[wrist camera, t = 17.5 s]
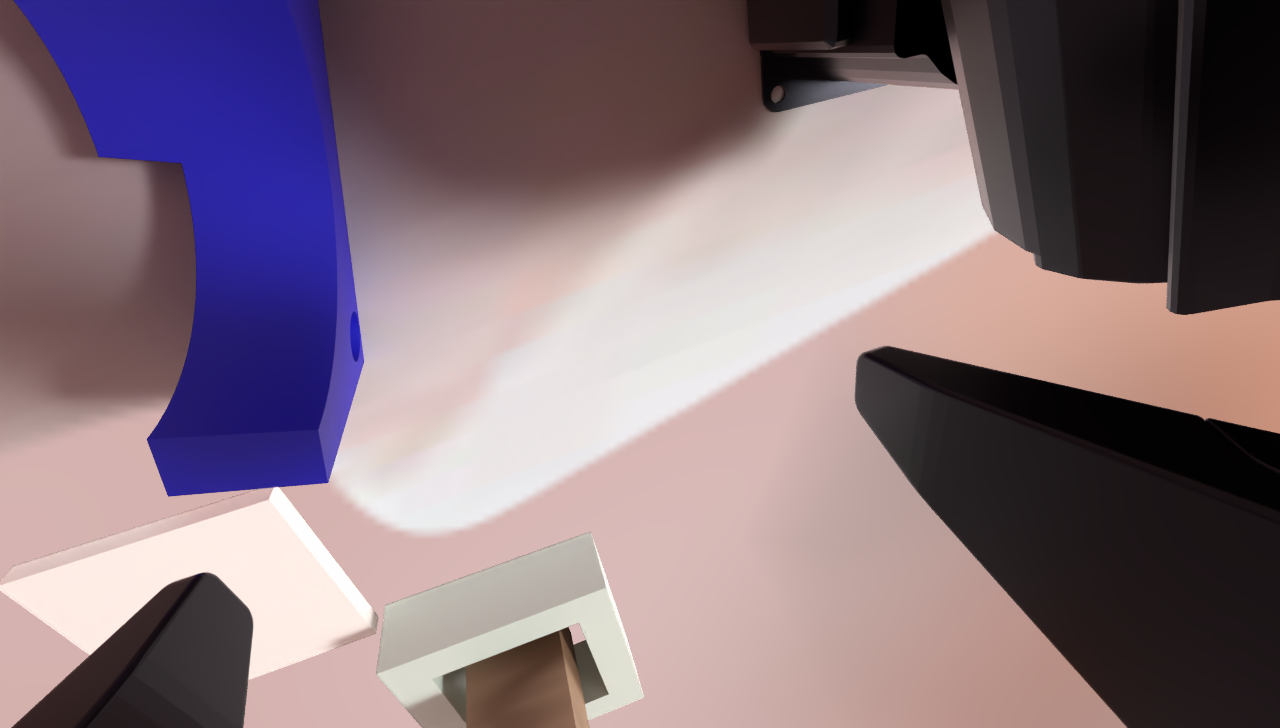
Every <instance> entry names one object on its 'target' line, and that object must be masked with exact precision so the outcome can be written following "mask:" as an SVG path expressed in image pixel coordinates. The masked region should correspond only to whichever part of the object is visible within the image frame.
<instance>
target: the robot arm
mask: <svg viewBox="0 0 1280 728" xmlns="http://www.w3.org/2000/svg"><path fill="white" fill-rule="evenodd" d="M747 6H748V25H749V41H750V44H751V45H752V46H753V47H754V48H755V49H757V50H760V57H761V80H762V99H763V104H764V106H765V107H766V108H767V109H768V110H769V111H771V112H780V111H784V110H788V109H792V108H796V107H800V106H804V105H809V104H813V103H817V102H821V101H825V100H829V99H833V98H837V97H841V96H845V95H849V94H853V93H857V92H861V91H865V90H869V89H873V88H877V87H881V86H885V85H903V86H917V87H930V88H944V89H958V90H959V93H960V98H961V103H962V108H963V113H964V118H965V123H966V128H967V133H968V138H969V143H970V147H971V152H972V157H973V162H974V167H975V172H976V177H977V182H978V187H979V192H980V197H981V202H982V206H983V208H984V210H985V212H986V214H987V216H988V218H989V220H990V222H991V224H992V226H993V228H994V230H995V231H997V232H998V233H1000V234H1001V235H1003V236H1004V237H1006V238H1008V239H1009V240H1011V241H1012V242H1013V243H1015V244H1016V245H1018V246H1020V247H1021V248H1023V249H1024V250H1026V251H1028V252H1031V253H1033V256H1034V261H1035V264H1036V265H1037V266H1038V267H1040V268H1042V269H1045V270H1049V271H1053V272H1057V273H1061V274H1065V275H1069V276H1073V277H1077V278H1083V279H1092V280H1103V281H1104V280H1105V281H1115V282H1128V283H1164V282H1165V283H1166V282H1167V309H1168V310H1169V311H1170V312H1173V313H1175V314H1181V315H1188V314H1195V313H1201V312H1207V311H1212V310H1218V309H1223V308H1230V307H1235V306H1241V305H1247V304H1252V303H1258V302H1264V301H1271V300H1280V0H747ZM778 85H779V86H781V87H782V88H783V90H784V97H783V99H782V100H781V102H779V103H774V102H772V100H771V91H772V90H773V88H774V87H776V86H778ZM855 402H856V405H857V409H858V411H859V412H860V414H861V416H862V417H863V418H864V420H865V421H866V422H867V424H868V425H869V427H870V428H871V429H872V431H873V432H874V434H875V435H876V436H877V438H878V439H879V440H880V442H881V443H882V445H883V446H884V447H885V449H886V450H887V452H888V453H889V454H890V456H891V457H892V458H893V460H894V461H895V463H896V464H897V465H898V467H899V468H900V469H901V471H902V472H903V474H904V475H905V476H906V478H907V479H908V480H909V482H910V483H911V484H912V486H913V487H914V488H915V490H916V491H917V492H918V493H919V494H920V496H921V497H922V498H923V499H924V500H925V501H926V503H927V504H928V505H929V506H930V507H931V508H932V510H933V511H934V512H935V513H936V514H937V515H938V516H939V517H940V519H941V520H943V522H944V523H945V524H946V525H947V526H948V528H950V530H951V531H952V532H953V533H954V534H955V535H956V536H957V538H958V539H959V540H960V541H961V542H962V543H963V544H964V545H965V546H966V548H967V549H968V550H969V551H970V552H971V553H972V554H973V556H974V557H975V558H976V559H977V560H978V561H979V562H980V563H981V564H982V566H983V567H984V568H985V569H986V570H987V571H988V572H989V573H990V574H991V576H992V577H993V578H994V579H995V580H996V581H997V582H998V584H999V585H1000V586H1001V587H1002V588H1003V589H1004V590H1005V591H1006V592H1007V593H1008V595H1009V596H1010V597H1011V598H1012V599H1013V600H1014V601H1015V603H1016V604H1017V605H1018V606H1019V607H1020V608H1021V609H1022V610H1023V612H1024V613H1025V614H1026V615H1027V616H1028V617H1029V618H1030V619H1031V620H1032V622H1033V623H1034V624H1035V625H1036V626H1037V627H1038V628H1039V629H1040V631H1041V632H1042V633H1043V634H1044V635H1045V636H1046V637H1047V638H1048V640H1049V641H1050V642H1051V643H1052V644H1053V645H1054V646H1055V647H1056V648H1057V649H1058V651H1059V652H1060V653H1061V654H1062V655H1063V656H1064V657H1065V658H1066V660H1067V661H1068V662H1069V663H1070V664H1071V665H1072V666H1073V667H1074V669H1075V670H1076V671H1077V672H1078V673H1079V674H1080V675H1081V676H1082V678H1083V679H1084V680H1085V681H1086V682H1087V683H1088V684H1089V685H1090V687H1091V688H1092V689H1093V690H1094V691H1095V692H1096V693H1097V694H1098V696H1099V697H1100V698H1101V699H1102V700H1103V701H1104V702H1105V703H1106V705H1107V706H1108V707H1109V708H1110V709H1111V710H1112V711H1113V712H1114V713H1115V715H1116V716H1117V717H1118V718H1119V719H1120V720H1121V721H1122V722H1123V724H1124V725H1125V726H1126V727H1127V728H1280V434H1279V433H1274V432H1270V431H1265V430H1260V429H1256V428H1251V427H1247V426H1242V425H1238V424H1234V423H1229V422H1225V421H1220V420H1216V419H1211V418H1208V419H1205V420H1204V419H1203V418H1202V417H1200V416H1197V415H1193V414H1189V413H1184V412H1180V411H1175V410H1171V409H1166V408H1162V407H1157V406H1153V405H1149V404H1144V403H1140V402H1135V401H1131V400H1126V399H1122V398H1117V397H1113V396H1108V395H1104V394H1100V393H1095V392H1091V391H1086V390H1082V389H1077V388H1073V387H1069V386H1064V385H1059V384H1055V383H1051V382H1046V381H1042V380H1038V379H1033V378H1028V377H1024V376H1019V375H1015V374H1011V373H1006V372H1002V371H998V370H993V369H989V368H984V367H979V366H975V365H971V364H966V363H962V362H957V361H953V360H949V359H944V358H940V357H935V356H931V355H927V354H922V353H918V352H913V351H908V350H904V349H900V348H895V347H891V346H882V347H878V348H875V349H872V350H869V351H867V352H864V353H862V354H861V355H860V356H859V357H858V360H857V366H856V383H855ZM252 637H253V618H252V614H251V612H250V610H249V608H248V607H247V606H246V605H245V604H244V603H243V602H242V601H241V600H240V599H239V598H238V597H237V596H236V595H235V594H234V592H233V591H232V590H231V589H230V588H229V587H228V586H227V585H226V584H225V583H224V582H223V581H222V580H221V579H220V578H219V577H217V576H216V575H215V574H212V573H209V572H203V573H198V574H195V575H192V576H189V577H186V578H183V579H180V580H177V581H175V582H172V583H170V584H168V585H167V586H165V587H164V588H163V589H161V590H160V591H159V592H158V593H157V594H156V595H155V596H154V597H153V598H152V599H151V600H150V601H148V602H147V603H146V604H145V605H144V606H143V607H142V608H141V609H140V610H139V611H138V612H136V613H135V614H134V615H133V616H132V617H131V618H130V619H129V620H128V621H127V622H126V623H125V624H123V625H122V626H121V627H120V628H119V629H118V630H117V631H116V632H115V633H114V634H113V635H111V636H110V637H109V638H108V639H107V640H106V641H105V642H104V643H103V644H102V645H101V646H100V647H98V648H97V649H96V650H95V651H94V652H93V653H92V654H91V655H90V656H89V657H88V658H87V659H86V660H84V661H83V662H82V663H81V664H80V665H79V666H78V667H77V668H76V669H75V670H73V671H72V672H71V673H70V674H69V675H68V676H67V677H66V678H65V679H64V680H63V681H62V682H61V683H60V684H58V685H57V686H56V687H55V688H54V689H53V690H52V691H51V692H50V693H49V694H47V695H46V696H45V697H44V698H43V699H42V700H41V701H40V702H39V703H38V704H37V705H35V707H34V708H32V709H31V710H30V711H29V712H28V713H27V714H26V715H25V716H24V717H23V718H21V719H20V720H19V721H18V722H17V723H16V724H15V725H14V726H13V727H12V728H243V725H244V715H245V705H246V696H247V686H248V676H249V667H250V657H251V647H252Z"/></svg>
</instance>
